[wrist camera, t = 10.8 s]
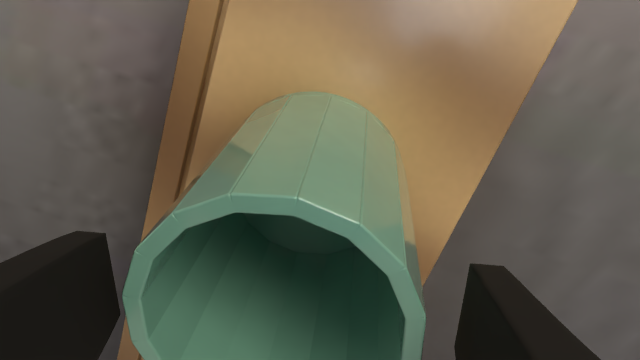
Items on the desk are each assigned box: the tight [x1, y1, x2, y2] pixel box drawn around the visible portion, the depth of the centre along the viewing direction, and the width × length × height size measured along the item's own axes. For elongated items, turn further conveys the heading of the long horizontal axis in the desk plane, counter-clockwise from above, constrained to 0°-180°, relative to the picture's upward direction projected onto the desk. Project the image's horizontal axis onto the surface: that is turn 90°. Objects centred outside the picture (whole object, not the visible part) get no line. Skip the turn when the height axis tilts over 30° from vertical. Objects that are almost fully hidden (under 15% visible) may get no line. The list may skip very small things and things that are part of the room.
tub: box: [122, 91, 426, 360], centre depth 11 cm, size 5×5×6 cm
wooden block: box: [117, 0, 578, 360], centre depth 16 cm, size 20×9×3 cm, turn 161°
